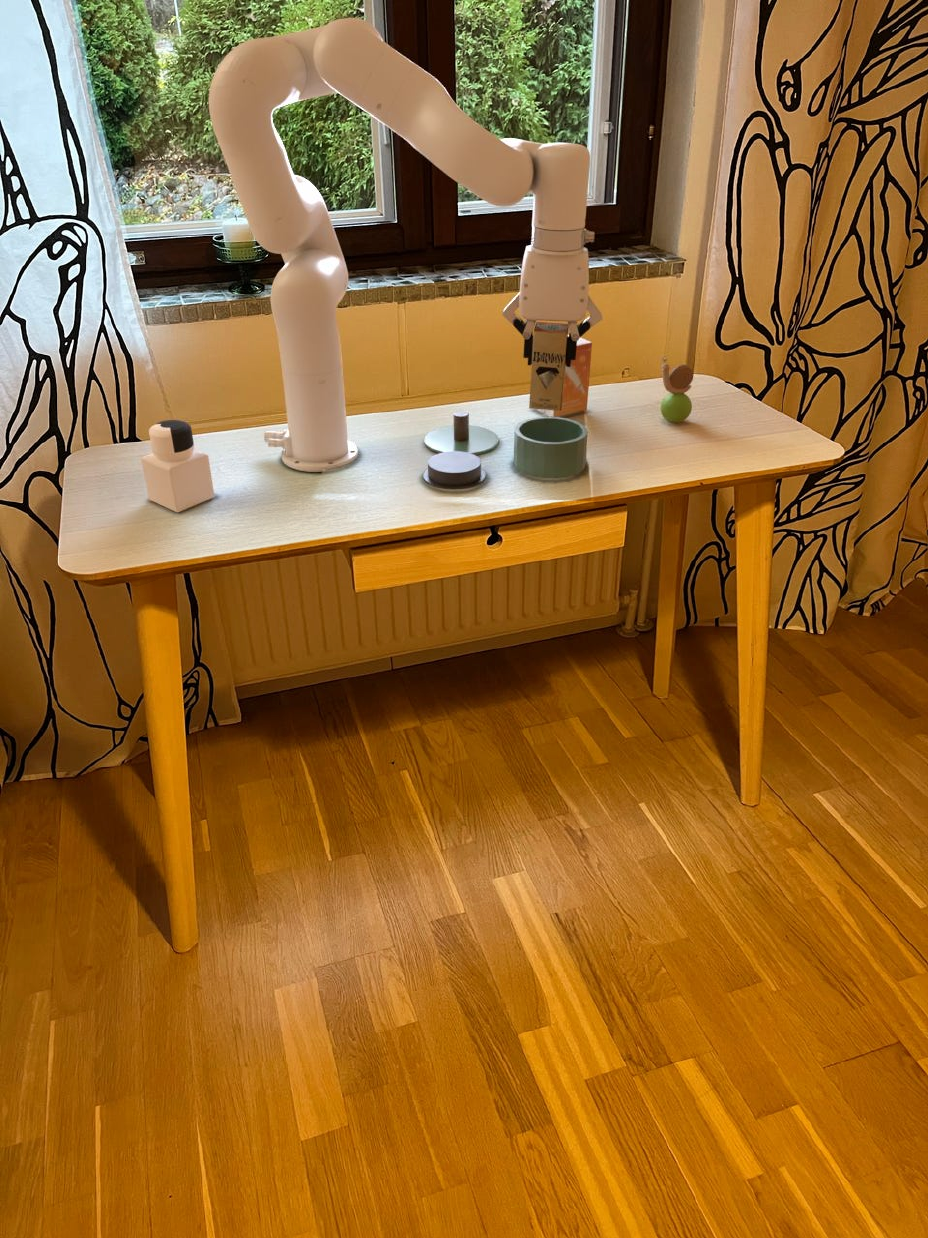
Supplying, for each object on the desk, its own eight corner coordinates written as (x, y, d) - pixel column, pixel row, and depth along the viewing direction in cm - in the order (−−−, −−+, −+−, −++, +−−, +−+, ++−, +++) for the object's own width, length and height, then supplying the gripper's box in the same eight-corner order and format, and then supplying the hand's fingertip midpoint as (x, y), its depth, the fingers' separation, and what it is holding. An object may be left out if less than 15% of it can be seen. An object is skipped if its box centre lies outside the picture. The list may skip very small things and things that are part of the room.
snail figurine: (648, 418, 176) (655, 353, 170) (680, 414, 178) (688, 349, 171) (662, 429, 172) (670, 362, 165) (695, 425, 173) (704, 358, 167)
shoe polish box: (531, 397, 155) (536, 321, 148) (562, 399, 154) (568, 323, 148) (529, 408, 151) (533, 331, 144) (560, 410, 150) (566, 333, 144)
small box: (553, 421, 175) (556, 349, 168) (532, 410, 180) (534, 340, 173) (588, 411, 179) (593, 341, 172) (566, 401, 183) (570, 332, 176)
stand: (419, 491, 151) (419, 473, 149) (426, 465, 159) (426, 448, 157) (484, 493, 150) (484, 475, 148) (487, 467, 158) (487, 449, 157)
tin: (512, 480, 154) (513, 443, 151) (514, 451, 164) (515, 415, 160) (586, 482, 153) (588, 444, 150) (583, 453, 163) (586, 417, 160)
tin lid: (420, 458, 161) (419, 426, 158) (428, 429, 172) (427, 399, 169) (496, 460, 160) (497, 428, 157) (499, 431, 171) (500, 401, 168)
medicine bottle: (186, 484, 153) (174, 411, 146) (215, 497, 149) (204, 423, 143) (148, 500, 148) (133, 425, 142) (177, 513, 144) (163, 437, 138)
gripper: (615, 235, 142) (603, 358, 152) (499, 231, 143) (494, 353, 153) (618, 247, 136) (606, 373, 146) (496, 242, 137) (492, 369, 146)
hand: (549, 362), depth 149 cm, fingers closed on shoe polish box, 5 cm apart
